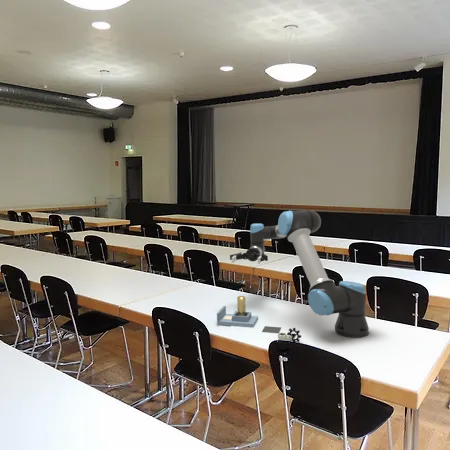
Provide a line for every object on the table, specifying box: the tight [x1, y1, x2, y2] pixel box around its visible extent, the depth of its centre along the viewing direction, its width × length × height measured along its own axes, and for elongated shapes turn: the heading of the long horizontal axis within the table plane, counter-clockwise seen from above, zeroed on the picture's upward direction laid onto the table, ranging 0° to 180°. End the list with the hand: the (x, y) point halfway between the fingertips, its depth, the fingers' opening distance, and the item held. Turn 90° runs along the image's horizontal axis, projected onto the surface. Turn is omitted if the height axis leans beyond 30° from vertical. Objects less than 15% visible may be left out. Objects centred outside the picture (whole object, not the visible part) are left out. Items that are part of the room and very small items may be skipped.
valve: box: [277, 327, 302, 343], centre depth 184 cm, size 7×7×12 cm
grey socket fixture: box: [216, 305, 259, 328], centre depth 214 cm, size 18×12×6 cm, turn 75°
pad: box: [261, 325, 282, 334], centre depth 203 cm, size 8×8×1 cm
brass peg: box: [236, 295, 247, 316], centre depth 213 cm, size 4×4×11 cm
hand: (245, 260), depth 221 cm, fingers open, 13 cm apart
